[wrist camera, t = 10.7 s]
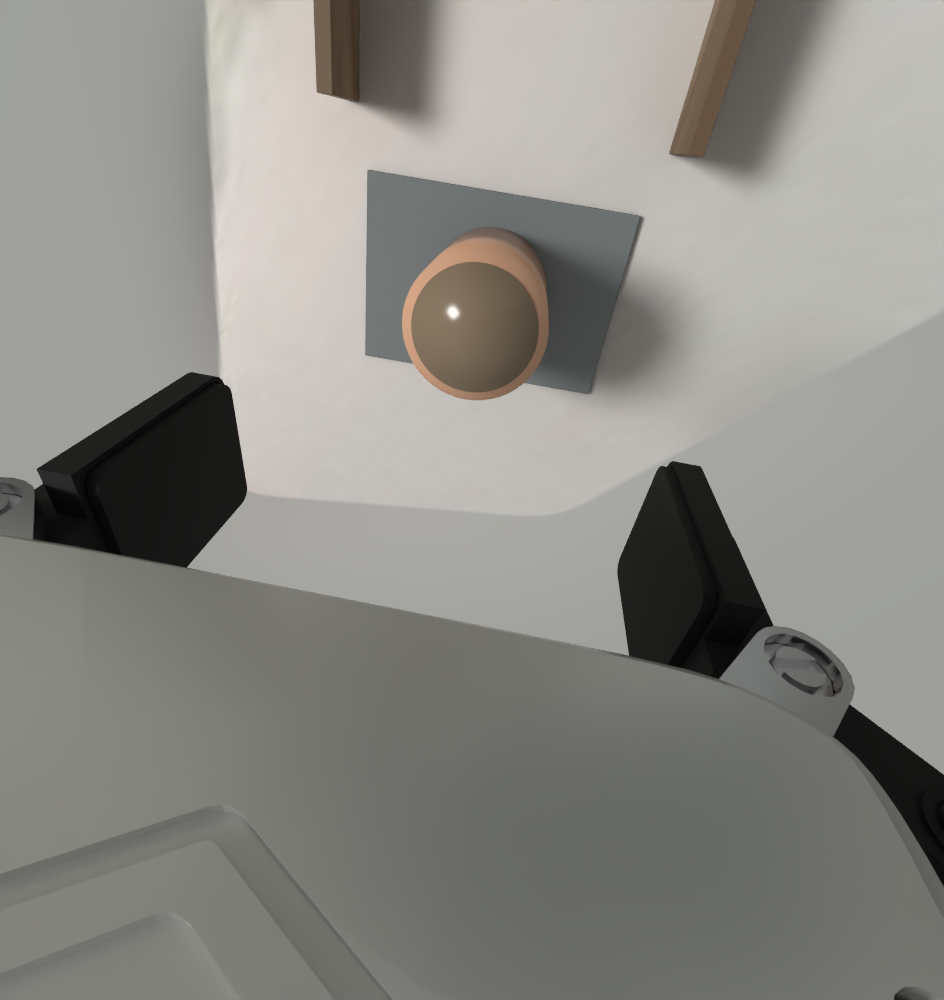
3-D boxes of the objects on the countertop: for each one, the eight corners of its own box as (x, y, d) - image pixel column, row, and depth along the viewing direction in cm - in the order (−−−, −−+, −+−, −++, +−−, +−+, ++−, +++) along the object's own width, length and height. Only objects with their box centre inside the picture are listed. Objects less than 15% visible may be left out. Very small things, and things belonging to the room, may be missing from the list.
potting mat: (639, 215, 24) (640, 216, 23) (588, 392, 29) (588, 394, 29) (368, 170, 24) (367, 170, 24) (366, 354, 29) (365, 355, 29)
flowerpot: (559, 237, 24) (564, 264, 19) (533, 357, 28) (531, 411, 22) (437, 217, 24) (405, 238, 19) (427, 338, 28) (397, 388, 22)
